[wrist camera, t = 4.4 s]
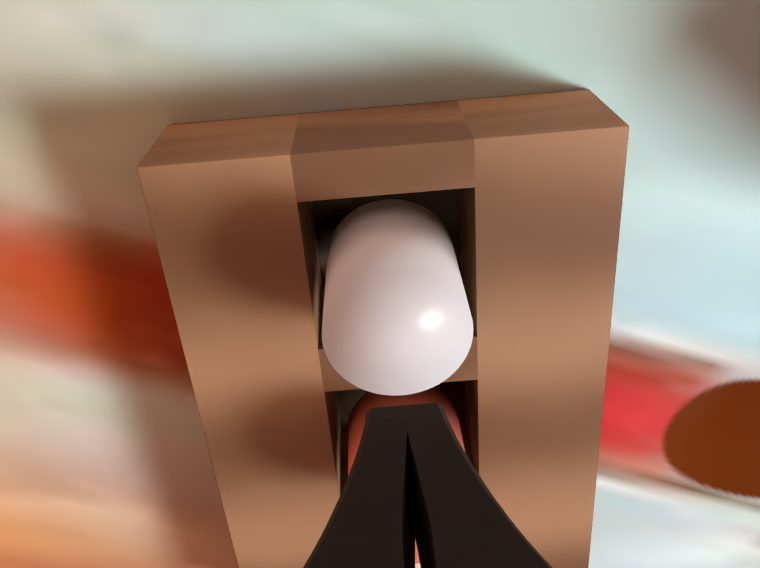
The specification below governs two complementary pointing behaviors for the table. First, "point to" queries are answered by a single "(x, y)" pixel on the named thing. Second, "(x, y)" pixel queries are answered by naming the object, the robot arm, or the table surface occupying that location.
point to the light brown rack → (479, 276)
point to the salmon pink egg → (381, 400)
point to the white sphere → (394, 300)
